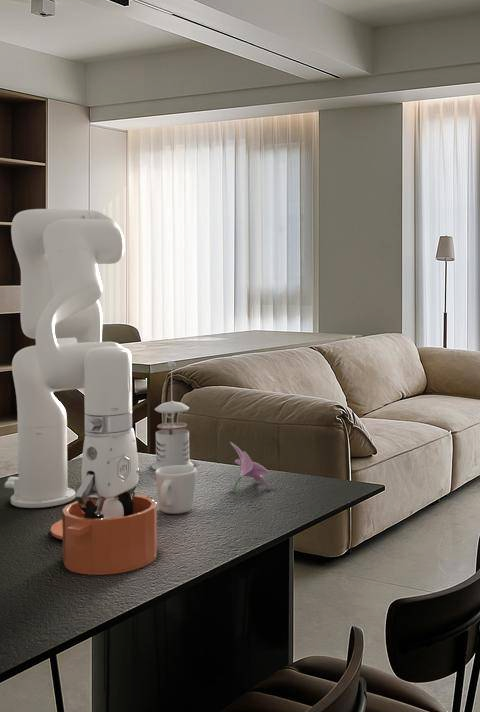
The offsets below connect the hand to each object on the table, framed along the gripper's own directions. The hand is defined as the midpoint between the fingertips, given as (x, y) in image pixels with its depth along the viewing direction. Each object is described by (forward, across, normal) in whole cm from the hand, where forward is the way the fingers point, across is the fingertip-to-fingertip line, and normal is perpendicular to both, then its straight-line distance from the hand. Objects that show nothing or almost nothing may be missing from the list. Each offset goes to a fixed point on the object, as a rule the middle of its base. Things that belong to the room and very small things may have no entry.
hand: (109, 530), depth 139 cm
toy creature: (+2, 0, 0) cm, 2 cm away
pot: (+5, 0, 0) cm, 5 cm away
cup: (+5, +26, +3) cm, 26 cm away
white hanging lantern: (+5, +61, +23) cm, 65 cm away
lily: (+5, +46, -4) cm, 46 cm away
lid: (+4, +12, +11) cm, 16 cm away
